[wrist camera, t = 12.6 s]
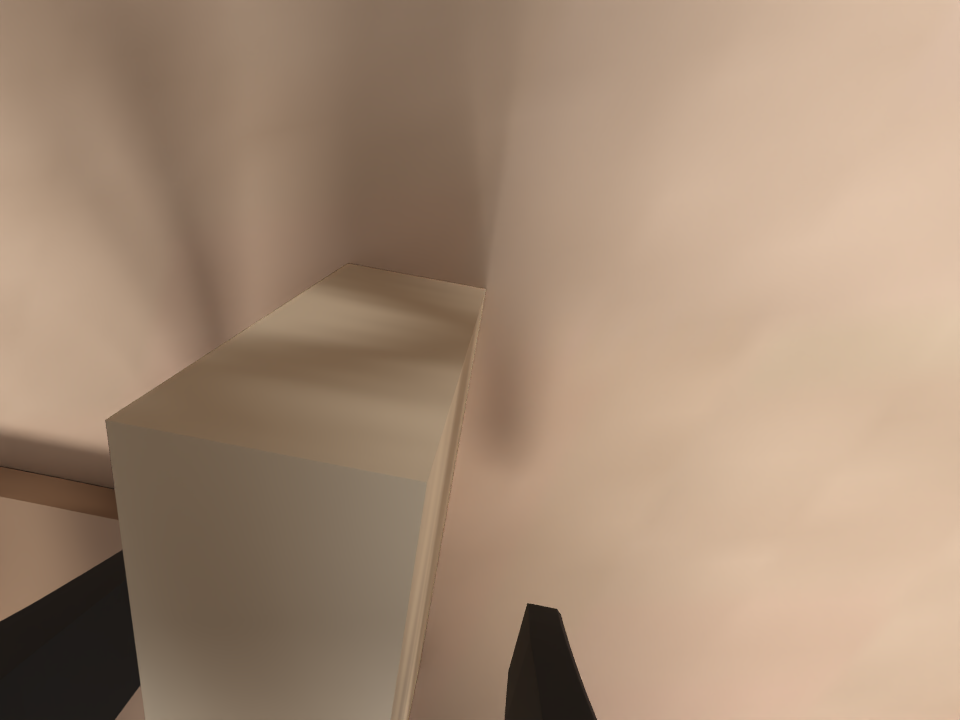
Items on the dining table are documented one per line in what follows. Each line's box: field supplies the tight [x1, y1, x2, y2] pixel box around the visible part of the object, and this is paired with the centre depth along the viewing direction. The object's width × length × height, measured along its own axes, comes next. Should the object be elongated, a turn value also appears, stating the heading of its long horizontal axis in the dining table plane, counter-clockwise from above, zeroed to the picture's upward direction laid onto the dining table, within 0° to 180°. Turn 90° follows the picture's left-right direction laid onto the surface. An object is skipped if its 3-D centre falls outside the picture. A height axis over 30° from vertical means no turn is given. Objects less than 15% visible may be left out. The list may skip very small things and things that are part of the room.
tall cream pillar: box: [105, 263, 486, 720], centre depth 10 cm, size 3×12×7 cm, turn 171°
